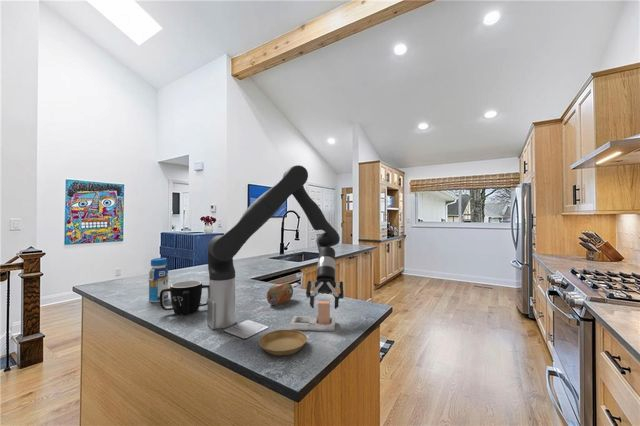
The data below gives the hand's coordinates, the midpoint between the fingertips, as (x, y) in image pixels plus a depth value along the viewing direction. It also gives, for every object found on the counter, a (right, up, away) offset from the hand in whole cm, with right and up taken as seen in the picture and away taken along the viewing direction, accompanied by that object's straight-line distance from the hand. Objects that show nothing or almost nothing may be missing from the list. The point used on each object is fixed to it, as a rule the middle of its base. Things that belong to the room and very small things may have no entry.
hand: (324, 307), depth 100 cm
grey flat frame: (-4, -7, 0) cm, 8 cm away
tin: (-20, -8, +28) cm, 35 cm away
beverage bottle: (-80, -8, +32) cm, 87 cm away
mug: (-58, -7, +16) cm, 61 cm away
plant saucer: (-13, -7, -16) cm, 22 cm away
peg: (0, -7, 0) cm, 7 cm away
